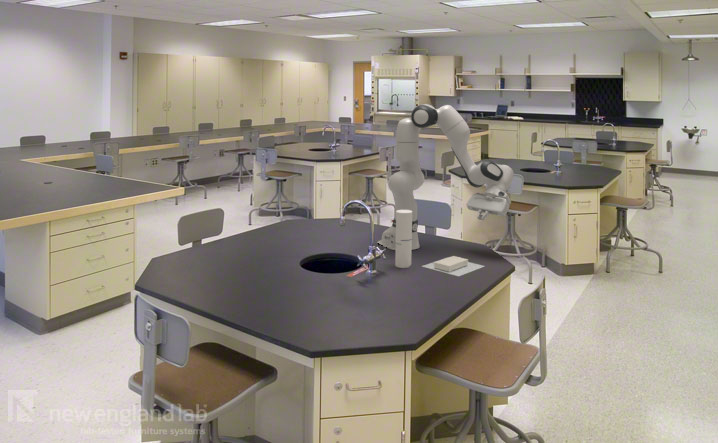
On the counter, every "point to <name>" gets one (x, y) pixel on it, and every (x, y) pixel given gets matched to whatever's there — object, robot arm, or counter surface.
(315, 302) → the counter surface
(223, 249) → the counter surface
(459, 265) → the tile
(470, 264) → the mat
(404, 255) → the cylindrical container
